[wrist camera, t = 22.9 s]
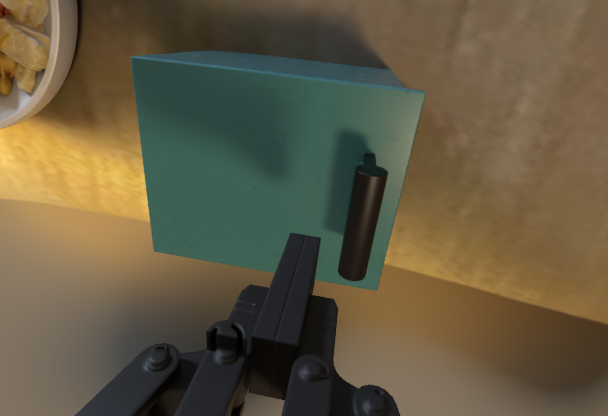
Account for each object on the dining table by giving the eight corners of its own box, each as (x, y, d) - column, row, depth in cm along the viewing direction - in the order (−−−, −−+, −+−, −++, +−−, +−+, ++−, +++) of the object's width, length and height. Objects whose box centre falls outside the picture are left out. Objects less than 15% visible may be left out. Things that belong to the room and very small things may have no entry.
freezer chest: (391, 70, 33) (407, 88, 21) (363, 208, 39) (364, 282, 28) (216, 49, 34) (137, 55, 22) (218, 185, 41) (158, 246, 29)
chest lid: (424, 90, 21) (441, 105, 16) (376, 284, 27) (379, 334, 23) (137, 55, 22) (78, 60, 18) (158, 246, 29) (119, 285, 24)
